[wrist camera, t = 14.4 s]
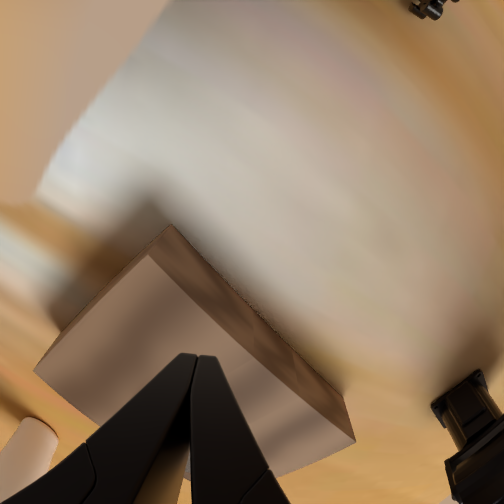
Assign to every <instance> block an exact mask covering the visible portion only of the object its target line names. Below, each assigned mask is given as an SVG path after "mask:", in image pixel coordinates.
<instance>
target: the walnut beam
mask: <svg viewBox="0 0 504 504" xmlns="http://www.w3.org/2000/svg"><path fill="white" fill-rule="evenodd" d="M179 353H191V354H196V355H197V356H198V357H199V355H211V356H216V357H217V358H218V360H219V362H220V365H221V367H222V369H223V371H224V374H225V376H226V378H227V380H228V383H229V385H230V387H231V389H232V391H233V394H234V396H235V398H236V400H237V402H238V404H239V406H240V408H241V411H242V413H243V415H244V417H245V419H246V421H247V423H248V425H249V427H250V429H251V431H252V433H253V435H254V437H255V439H256V441H257V443H258V445H259V447H260V449H261V451H262V453H263V455H264V457H265V459H266V461H267V463H268V465H269V469H270V470H272V472H273V474H274V476H275V478H277V477H280V476H283V475H285V474H288V473H290V472H293V471H295V470H298V469H300V468H303V467H305V466H307V465H310V464H312V463H314V462H317V461H319V460H321V459H323V458H325V457H328V456H330V455H332V454H334V453H336V452H338V451H340V450H342V449H344V448H346V447H348V446H350V445H352V444H354V443H356V439H355V436H354V432H353V429H352V426H351V422H350V419H349V416H348V412H347V409H346V406H345V402H344V399H343V398H342V397H341V396H340V395H339V394H338V393H337V392H336V391H335V390H334V389H333V388H332V387H331V386H330V385H329V384H328V383H327V382H326V381H325V380H324V379H323V378H321V377H320V376H319V375H318V374H317V373H316V372H315V371H314V370H313V369H312V368H311V367H310V366H309V365H308V364H307V363H306V362H305V361H304V360H303V359H302V358H301V357H300V356H299V355H298V354H297V353H296V352H295V351H294V350H293V349H292V348H291V347H290V346H289V345H288V344H287V343H286V342H285V341H284V340H283V339H282V338H281V337H280V336H279V335H278V334H277V333H276V332H275V331H274V330H273V329H272V328H271V327H270V326H269V325H268V324H267V323H266V322H265V321H264V320H263V319H262V318H261V317H260V316H259V315H258V314H257V313H256V312H255V311H254V310H253V309H252V308H251V307H250V306H249V305H248V304H247V303H246V302H245V301H244V300H243V299H242V298H241V297H240V296H239V295H238V294H237V293H236V292H235V291H234V290H233V289H232V288H231V287H230V286H229V285H228V284H227V283H226V282H225V281H224V279H223V278H222V277H221V276H220V275H219V274H218V273H217V272H216V271H215V270H214V269H213V268H212V267H211V266H210V265H209V264H208V263H207V262H206V261H205V260H204V258H203V257H202V256H201V255H200V254H199V253H198V252H197V251H196V250H195V249H194V248H193V247H192V246H191V245H190V244H189V242H188V241H187V240H186V239H185V238H184V237H183V236H182V235H181V234H180V233H179V232H178V231H177V230H176V228H175V227H174V226H173V225H172V224H170V225H169V226H168V227H167V228H166V229H165V230H164V231H163V232H162V233H161V234H159V235H158V236H157V237H156V238H155V239H154V240H153V241H152V242H151V243H150V244H149V245H148V246H147V247H146V248H144V249H143V250H142V251H141V252H140V253H139V254H138V255H137V256H136V257H135V258H134V259H133V260H132V261H131V262H130V263H129V264H128V265H127V266H126V267H125V268H124V269H123V270H122V271H120V272H119V273H118V274H117V275H116V276H115V277H114V278H113V279H112V280H111V281H110V282H109V283H108V284H107V285H106V286H105V287H104V288H103V289H102V290H101V291H100V292H99V293H98V294H97V295H96V296H95V297H94V298H93V299H92V301H91V302H90V303H89V304H88V305H87V306H86V307H85V308H84V309H83V310H82V311H81V312H80V313H79V314H78V315H77V316H76V317H75V318H74V319H73V320H72V321H71V322H70V323H69V325H68V326H67V327H66V328H65V329H64V330H63V331H62V332H61V333H60V335H59V336H58V337H57V338H56V340H55V341H54V342H53V344H52V345H51V346H50V348H49V349H48V350H47V352H46V353H45V354H44V356H43V357H42V359H41V360H40V361H39V363H38V364H37V365H36V367H35V368H34V370H33V371H34V372H35V373H36V374H37V375H38V376H39V377H40V378H41V379H42V380H43V381H44V382H45V383H47V384H48V385H49V386H50V387H51V388H52V389H53V390H55V391H56V392H57V393H58V394H59V395H60V396H62V397H63V398H64V399H65V400H66V401H68V402H69V403H70V404H71V405H73V406H74V407H75V408H76V409H78V410H79V411H80V412H81V413H83V414H84V415H85V416H87V417H88V418H89V419H91V420H92V421H93V422H95V423H96V424H97V425H99V426H100V427H101V426H102V425H103V424H104V423H105V422H106V421H107V420H109V419H110V418H111V417H112V416H113V415H114V414H115V413H116V412H117V411H118V410H119V409H120V408H122V407H123V406H124V405H125V404H126V403H127V402H128V401H129V400H130V399H131V398H132V397H133V396H134V395H136V394H137V393H138V392H139V391H140V390H141V389H142V388H143V387H144V386H145V385H146V384H147V383H148V382H149V381H151V380H152V379H153V378H154V377H155V376H156V375H157V374H158V373H159V372H160V371H161V370H162V369H163V368H164V367H165V366H166V365H167V364H169V363H170V362H171V361H172V360H173V359H174V358H175V357H176V356H177V355H178V354H179ZM183 478H185V479H187V480H189V481H191V473H189V472H185V473H184V477H183Z"/></svg>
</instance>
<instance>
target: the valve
mask: <svg viewBox="0 0 504 504" xmlns="http://www.w3.org/2000/svg"><path fill="white" fill-rule="evenodd" d="M419 1H420V4H419V5H418V6H417V5H416V4H414V3H412V2H411V4H410V6H409V12H411V13H413V14H414V15H416V16H417V17H419V18H420V19H424V18H425V17H426V16H428V17H429V18H431V19H432V20H434V21H435V20H438V19H439V18H440V17H441V15H442V13H443V8H442V6H443V4H444V3H445V2H446V1H447V0H419ZM451 1H452V2H454V3H456V2H458V1H459V0H451Z"/></svg>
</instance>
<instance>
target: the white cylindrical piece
mask: <svg viewBox="0 0 504 504" xmlns="http://www.w3.org/2000/svg"><path fill="white" fill-rule="evenodd" d="M57 446H58V438H57V436H56V434H55V433H54V431H53V430H52V429H51V428H50V427H48V426H47V425H46V424H44V423H43V422H41V421H40V420H38V419H35V418H32V417H26V418H24V419H23V420H22V421H21V423H20V425H19V426H18V428H17V430H16V431H15V432H14V434H13V435H12V437H11V438H10V439H9V441H8V442H7V444H6V445H5V447H4V448H3V449H2V451H1V452H0V503H1V502H3V501H4V500H6V499H8V498H9V497H11V496H12V495H14V494H16V493H17V492H19V491H20V490H22V489H23V488H25V487H26V486H28V485H30V484H31V483H33V482H34V481H36V480H37V479H38V478H40V477H41V476H43V475H44V474H46V473H47V472H48V469H49V466H50V463H51V460H52V457H53V455H54V452H55V450H56V448H57Z"/></svg>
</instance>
